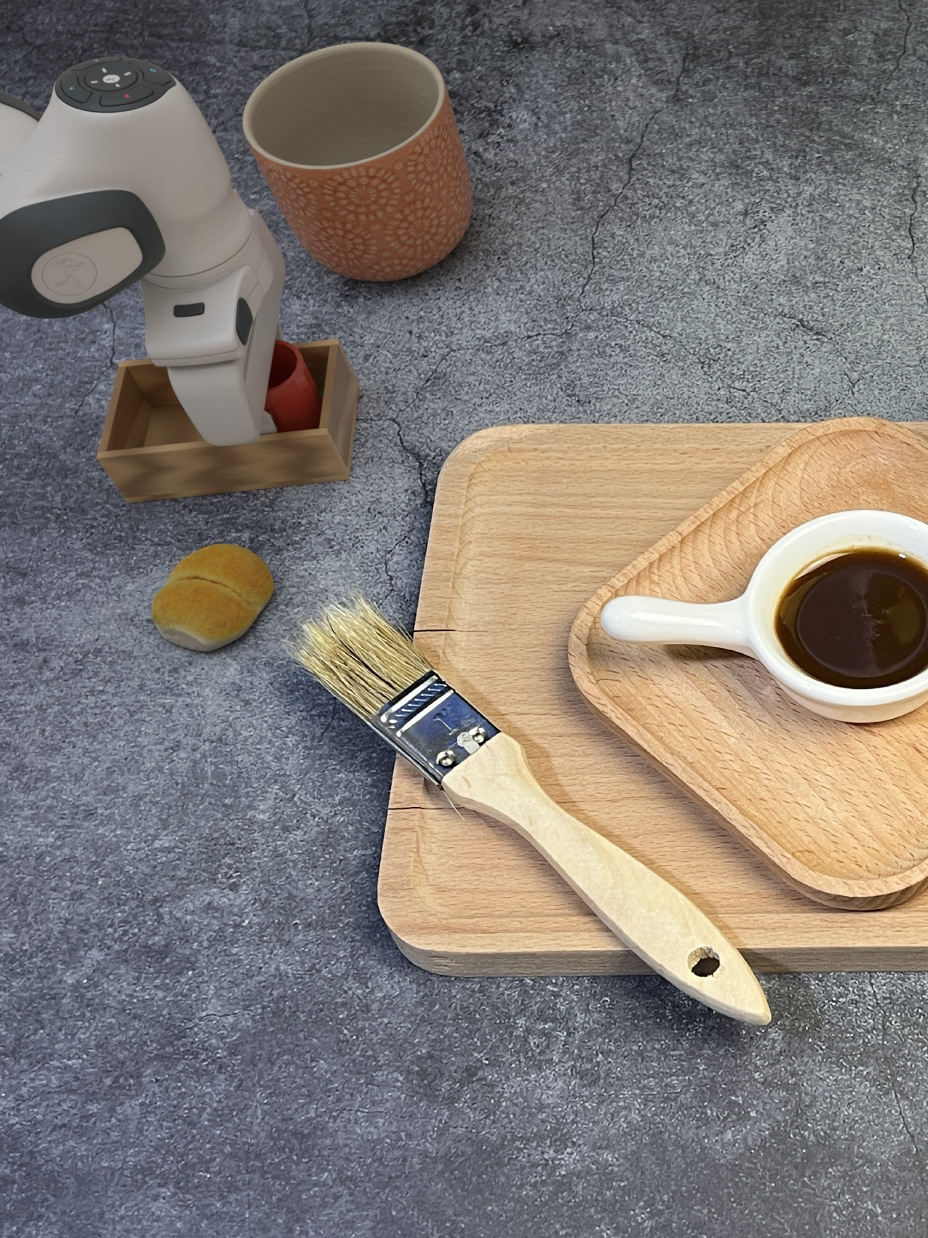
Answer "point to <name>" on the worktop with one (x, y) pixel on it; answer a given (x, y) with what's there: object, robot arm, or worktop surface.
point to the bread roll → (212, 597)
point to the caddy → (189, 466)
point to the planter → (363, 158)
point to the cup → (292, 390)
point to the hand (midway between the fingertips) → (273, 396)
